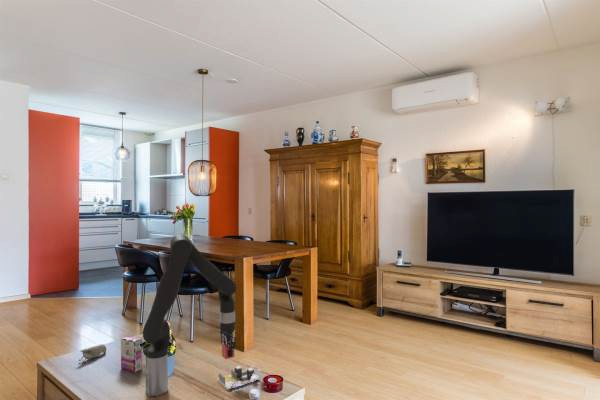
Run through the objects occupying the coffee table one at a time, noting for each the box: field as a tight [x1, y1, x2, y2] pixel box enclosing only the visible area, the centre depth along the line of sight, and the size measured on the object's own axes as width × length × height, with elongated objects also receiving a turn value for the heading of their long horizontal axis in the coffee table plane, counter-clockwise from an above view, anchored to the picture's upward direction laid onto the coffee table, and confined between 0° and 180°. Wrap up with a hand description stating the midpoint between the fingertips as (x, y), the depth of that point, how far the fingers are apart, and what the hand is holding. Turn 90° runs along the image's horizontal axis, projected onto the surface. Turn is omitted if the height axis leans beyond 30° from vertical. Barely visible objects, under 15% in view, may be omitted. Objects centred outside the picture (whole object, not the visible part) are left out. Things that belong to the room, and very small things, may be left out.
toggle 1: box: [234, 365, 243, 377], centre depth 189 cm, size 2×3×4 cm
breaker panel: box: [217, 369, 250, 392], centre depth 186 cm, size 17×12×4 cm
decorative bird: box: [78, 343, 107, 363], centre depth 213 cm, size 5×16×8 cm, turn 158°
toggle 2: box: [246, 367, 255, 379], centre depth 186 cm, size 2×3×4 cm
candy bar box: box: [120, 335, 143, 373], centre depth 199 cm, size 11×5×16 cm, turn 62°
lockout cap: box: [221, 342, 235, 360], centre depth 185 cm, size 4×4×6 cm
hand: (228, 354), depth 185 cm, fingers closed on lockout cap, 4 cm apart
